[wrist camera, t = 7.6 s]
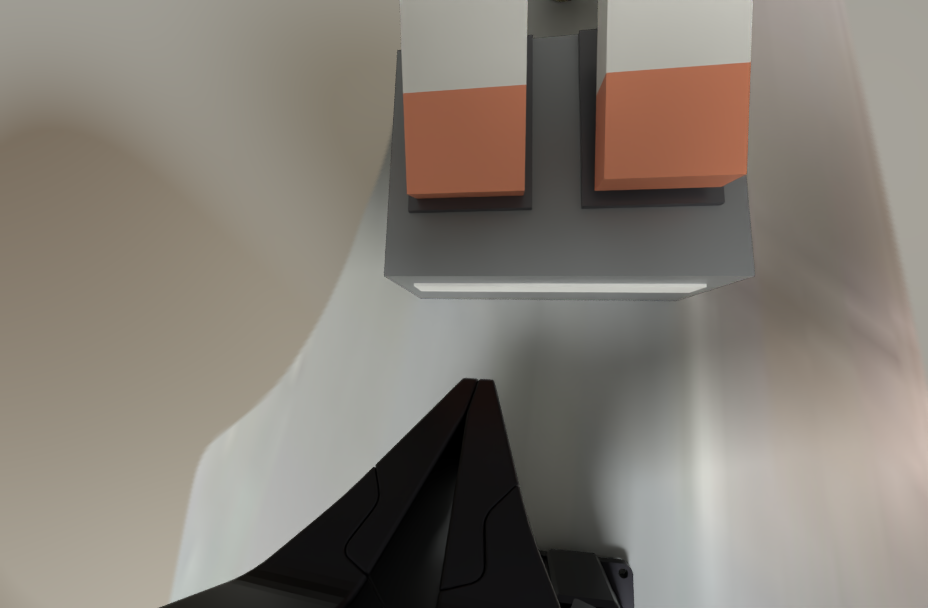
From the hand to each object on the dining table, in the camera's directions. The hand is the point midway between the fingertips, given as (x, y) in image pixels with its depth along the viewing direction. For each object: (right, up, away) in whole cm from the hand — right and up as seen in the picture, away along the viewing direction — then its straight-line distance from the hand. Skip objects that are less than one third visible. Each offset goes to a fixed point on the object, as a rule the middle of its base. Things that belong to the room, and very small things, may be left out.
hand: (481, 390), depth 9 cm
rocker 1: (0, +11, +6) cm, 13 cm away
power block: (+5, +9, +14) cm, 17 cm away
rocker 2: (+8, +11, +5) cm, 14 cm away
